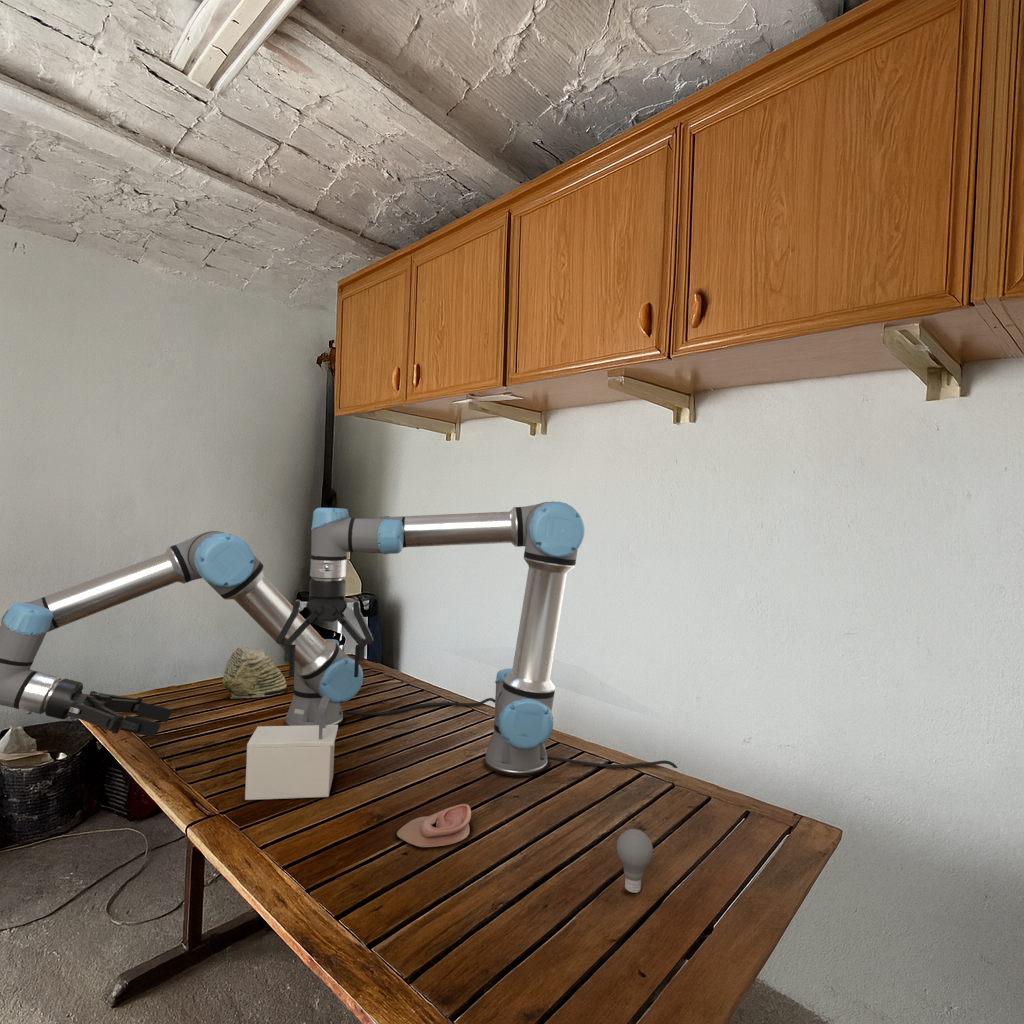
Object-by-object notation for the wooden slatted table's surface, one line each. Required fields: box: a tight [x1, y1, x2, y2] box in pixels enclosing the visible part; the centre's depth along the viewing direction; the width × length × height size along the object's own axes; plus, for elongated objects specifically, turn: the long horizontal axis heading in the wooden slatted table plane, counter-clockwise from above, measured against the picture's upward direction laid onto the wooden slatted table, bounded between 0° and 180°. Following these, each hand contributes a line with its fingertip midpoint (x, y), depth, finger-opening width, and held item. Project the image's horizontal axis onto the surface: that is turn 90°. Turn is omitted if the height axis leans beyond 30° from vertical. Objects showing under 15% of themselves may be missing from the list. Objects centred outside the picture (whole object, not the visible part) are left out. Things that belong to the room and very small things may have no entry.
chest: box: [244, 742, 336, 801], centre depth 137 cm, size 17×10×11 cm, turn 101°
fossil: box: [222, 646, 288, 699], centre depth 198 cm, size 9×18×15 cm, turn 132°
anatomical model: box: [396, 803, 472, 848], centre depth 121 cm, size 13×4×12 cm
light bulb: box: [615, 828, 654, 894], centre depth 106 cm, size 6×6×10 cm
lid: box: [246, 696, 339, 749], centre depth 137 cm, size 17×10×8 cm, turn 100°
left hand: (164, 722), depth 134 cm, fingers open, 13 cm apart
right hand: (324, 675), depth 138 cm, fingers open, 13 cm apart
